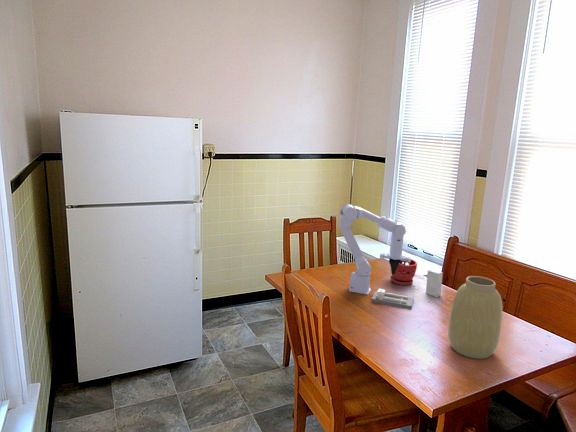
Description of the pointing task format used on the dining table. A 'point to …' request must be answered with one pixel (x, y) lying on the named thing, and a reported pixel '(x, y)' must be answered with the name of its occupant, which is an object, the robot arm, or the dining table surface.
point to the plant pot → (404, 273)
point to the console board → (393, 300)
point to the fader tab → (381, 292)
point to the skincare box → (434, 282)
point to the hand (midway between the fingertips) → (393, 273)
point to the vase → (476, 318)
